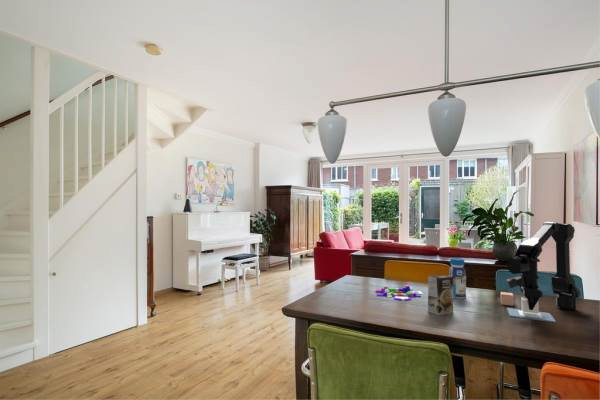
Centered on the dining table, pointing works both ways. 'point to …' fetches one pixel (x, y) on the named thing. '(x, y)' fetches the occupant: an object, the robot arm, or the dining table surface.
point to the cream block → (526, 307)
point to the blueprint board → (530, 315)
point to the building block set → (394, 292)
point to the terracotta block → (507, 298)
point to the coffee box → (440, 294)
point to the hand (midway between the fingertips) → (529, 308)
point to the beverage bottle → (458, 277)
